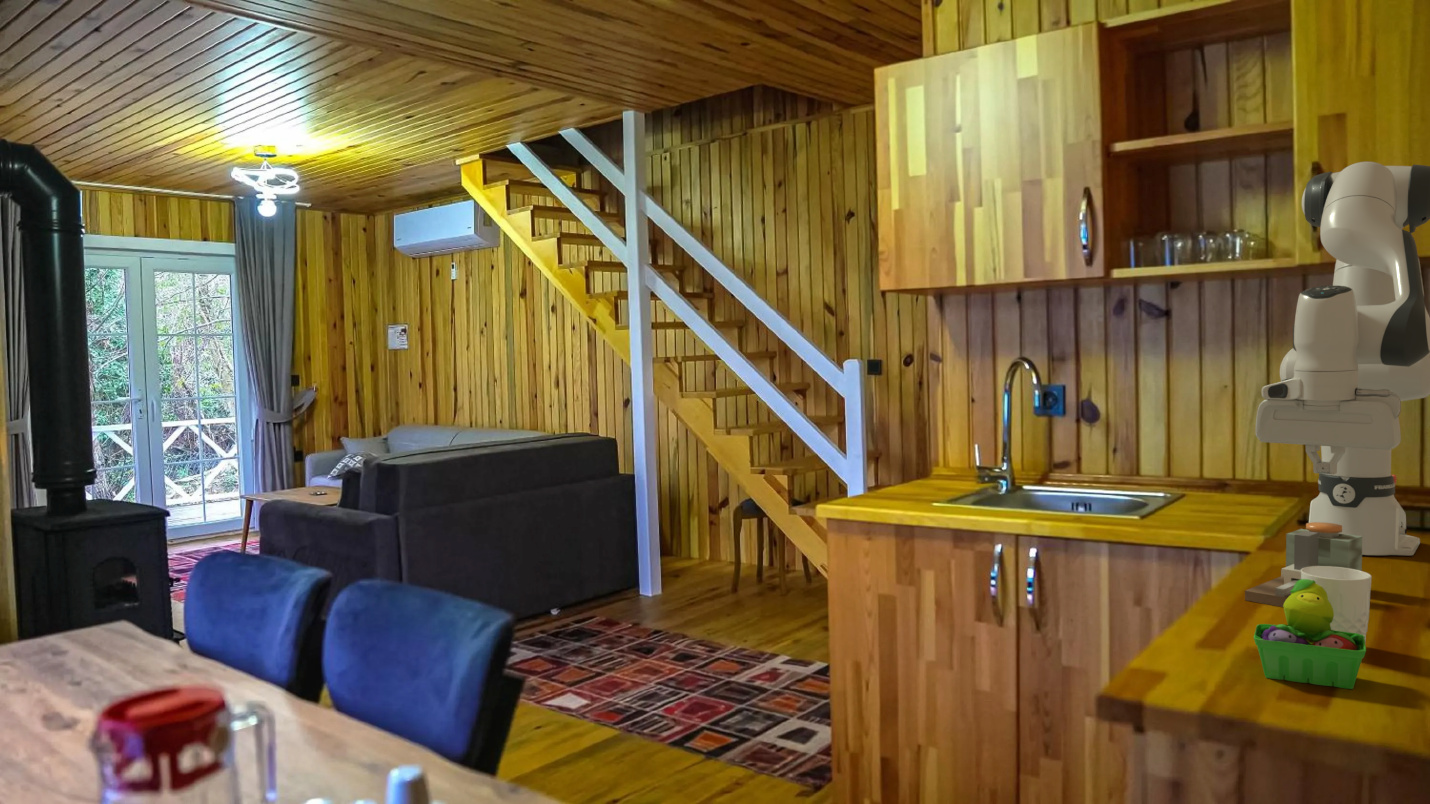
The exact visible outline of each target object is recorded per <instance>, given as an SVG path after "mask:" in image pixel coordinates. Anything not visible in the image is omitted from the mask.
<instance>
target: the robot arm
mask: <svg viewBox="0 0 1430 804" xmlns="http://www.w3.org/2000/svg"><path fill="white" fill-rule="evenodd" d="M1303 190H1304V191H1303V193H1302V197H1301V209H1302V212H1303V215H1304V218H1305V221H1306V222H1307V223H1309V224H1310V225H1311V226H1313V227H1317V228H1319V229H1320V233H1319V235H1320V236H1319V237H1320V242H1321V245H1322V246H1323V248H1324V249H1325V250H1326V252H1327V253H1328V254H1329V255H1330V256H1331V257H1333V258H1334V259H1335V264H1334V270H1333V271H1334V273H1333V281H1332V285H1321V286H1316V287H1315V286H1314V287H1310V288H1306V289H1305V290H1302V291H1301V292H1300V293H1299V295H1298V299H1297V302H1296V309H1295V315H1294V316H1295V318H1294V324H1293V326H1292V348H1291V349H1290V350H1289V351H1287V353H1286V354H1285V355H1284V356H1283V359H1282V361H1281V362H1280V366H1279V379H1280V381H1278V382H1275V383H1270V384H1267V385H1264V386H1262V388H1261V397H1262V398H1263V399H1264V400H1262V401H1261V402H1260V403H1259V405H1258V408H1257V411H1256V417H1255V419H1256V420H1255V436H1256V438H1257V439H1258V440H1259V441H1260V442H1261V443H1271V444H1272V443H1273V444H1286V445H1288V444H1289V445H1304V446H1305V453H1306V455H1307V456H1308V458H1309V459H1310V461H1311V463H1312V464H1313V465H1312V467H1313V469H1312V471H1313V473H1314V474H1318V480H1317V484H1318V491H1319V494H1318V496H1316V497H1315V498H1313V499H1312V500H1311V501H1310V503H1309V504H1310V506H1309V514H1308V515H1309V516H1308V523H1312V522H1322V523H1333V524H1338V525H1341V526H1342V532H1340V534H1348V535H1357V536H1362V556H1414V554H1415V553H1416V551H1417V549H1418V547H1419V545H1420V544H1421V539H1420V537H1417V536H1413V535H1408V534H1407V516H1406V511H1405V510H1404V509H1403V507H1402V506H1401V505H1400V503H1399V502H1398V501H1397V499H1396V497H1395V494H1396V485H1397V481H1398V477H1397V475H1396V474H1392V450H1394V449H1395V448H1397V447H1398V446H1399V445H1400V443H1401V442H1402V441H1401V440H1402V438H1401V437H1402V436H1401V435H1402V434H1401V433H1402V432H1401V425H1400V419H1399V416H1400V414H1401V412H1402V411H1401V410H1402V402H1405V401H1413V400H1420V399H1424V398H1427V397H1429V396H1430V315H1429V312H1428V310H1427V308H1426V304H1425V303H1426V300H1425V292H1424V290H1425V289H1424V285H1423V284H1424V283H1423V277H1422V270H1421V264H1420V258H1419V255H1418V248H1417V244H1416V241H1415V238H1414V236H1413V235H1412V234H1413V233H1415V232H1416V228H1419V227H1420V226H1422V225H1424V224H1426V223H1428V221H1430V166H1429V165H1424V164H1413V165H1412V166H1411V165H1410V166H1409V165H1384V164H1381V163H1379V162H1375V161H1360V162H1355V163H1353V164H1350V165H1348V166H1346V167H1344V168H1343V169H1342V170H1341V171H1337V172H1332V171H1328V172H1323V173H1320V174H1316V175H1315V176H1313V177H1311V178H1310V180H1308V181H1307V184H1306V185H1305V188H1304V189H1303ZM1407 226H1408V227H1409V228H1408V229H1409V230H1405V229H1403V228H1406V227H1407ZM1318 451H1321V452H1320V453H1321V454H1320V455H1321V457H1320V455H1319V453H1318Z"/></svg>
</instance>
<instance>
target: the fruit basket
mask: <svg viewBox="0 0 1430 804" xmlns="http://www.w3.org/2000/svg"><path fill="white" fill-rule="evenodd" d="M1290 592H1291V595H1290V596H1289V597H1288V598H1287V599H1286V601H1285V602H1284V605H1283V612H1284V616H1285V619H1286V623H1287V624H1285V623H1282V624H1281V623H1280V624H1270V623H1259V624H1256V626H1255V631H1254V635H1253V640H1254V643H1255V645H1256V646H1257V651H1258V655H1259V657H1260V662H1261V665H1262V666H1261V667H1262V670H1263V673H1264V676H1265V678H1266V679H1273V680H1281V681H1283V680H1284V681H1288V682H1295V683H1303V684H1311V685H1317V686H1326V687H1334V688H1340V689H1345V690H1346V689H1348V690H1354V687H1355V683H1356V680H1357V677H1358V673H1359V670H1360V667H1361V664H1362V660H1363V659H1364V658H1365V655H1366V652H1367V647H1366V642H1365V636H1364V635H1361V634H1358V633H1350V632H1341V631H1334V630H1331V627H1330V623H1331V622H1332V620H1333V617H1334V611H1333V608H1332V606H1331V603H1330V602H1329V600H1328V596H1327V593H1326V591H1325V590H1324V588H1323V587H1321V586H1320V585H1318V584H1316V583H1315V581H1314V580H1309V579H1301V580H1298V581H1297V582H1296V583H1295V585H1294V587H1293V589H1292V590H1291V591H1290Z"/></svg>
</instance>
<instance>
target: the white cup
mask: <svg viewBox="0 0 1430 804" xmlns="http://www.w3.org/2000/svg"><path fill="white" fill-rule="evenodd" d="M1301 579H1309V580H1314V581H1315V583H1316V584H1318V585H1320V586H1321V587H1323V588H1324V590H1325V591H1326V593H1327V596H1328V600H1329V602H1330V603H1331V606H1332V608H1333V611H1334V617H1333V620H1332V622H1331V623H1330V627H1331V630H1334V631H1341V632H1350V633H1358V634H1361V635H1364V636H1365V643H1366V640H1367V637H1366V636H1367V632H1368V629H1369V627H1368V625H1369V620H1370V606H1371V605H1370V604H1371V603H1370V602H1371V592H1372V591H1371V589H1372V575H1371V574H1370V573H1369V572H1366V571H1363V570H1362V571H1360V570H1355V569H1350V568H1343V567H1332V566H1311V567H1305V568H1302V569H1301Z"/></svg>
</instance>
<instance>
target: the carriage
mask: <svg viewBox="0 0 1430 804" xmlns="http://www.w3.org/2000/svg"><path fill="white" fill-rule="evenodd" d="M1318 545H1319V533H1316V532H1308V531H1304V532H1301V533H1298V534H1295V540H1294V564H1292V565H1290V566H1287V567H1286V566H1285V567H1282V568H1281V569H1280V573H1281V574H1280V577H1281V576H1282V577H1284V584H1286V583H1289V582H1291V581H1294V580H1296V579H1301V569H1302V568H1305V567H1311V566H1318Z"/></svg>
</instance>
